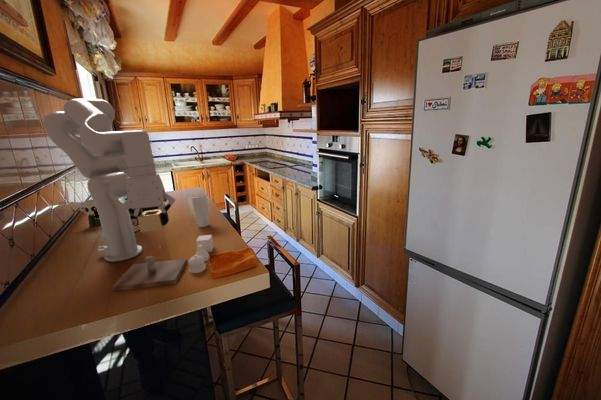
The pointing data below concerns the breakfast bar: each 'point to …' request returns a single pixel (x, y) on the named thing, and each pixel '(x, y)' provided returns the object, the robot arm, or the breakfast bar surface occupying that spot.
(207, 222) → the drinking glass
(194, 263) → the container set
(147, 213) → the brass collar
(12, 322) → the breakfast bar surface
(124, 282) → the post board
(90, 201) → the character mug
